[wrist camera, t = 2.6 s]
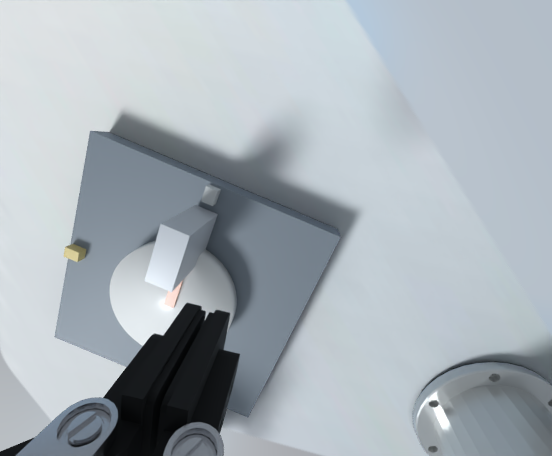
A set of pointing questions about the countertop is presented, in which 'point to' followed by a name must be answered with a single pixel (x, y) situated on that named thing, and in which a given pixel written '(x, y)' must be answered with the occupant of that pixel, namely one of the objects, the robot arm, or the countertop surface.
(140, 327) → the dial
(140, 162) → the panel
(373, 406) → the countertop surface
